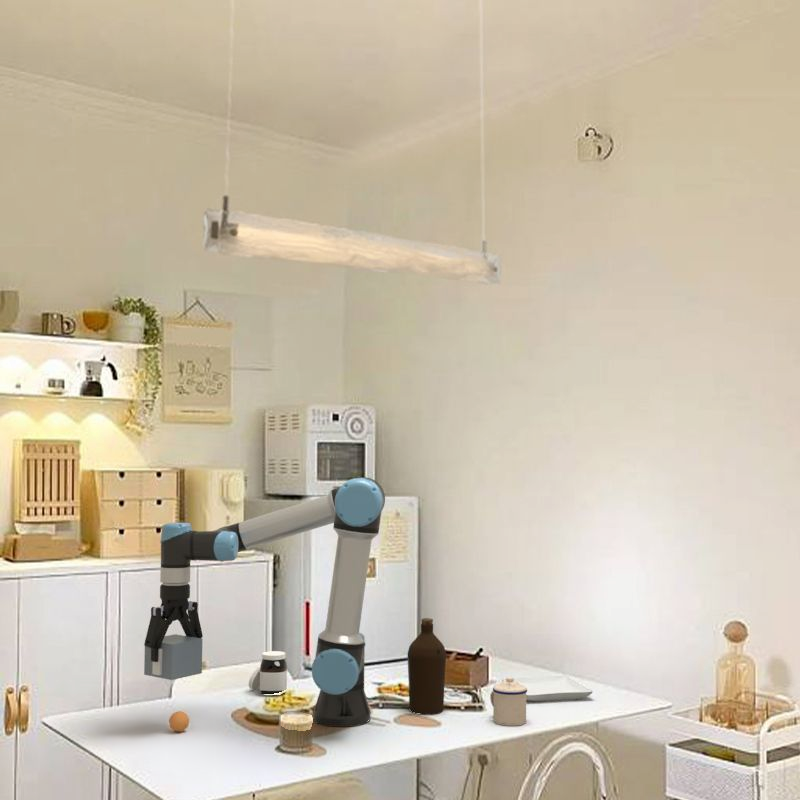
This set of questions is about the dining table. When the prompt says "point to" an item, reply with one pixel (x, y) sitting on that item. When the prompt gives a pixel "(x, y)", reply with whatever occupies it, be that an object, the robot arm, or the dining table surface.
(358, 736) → the dining table surface
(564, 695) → the salad plate
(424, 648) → the olive oil
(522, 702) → the teacup with lid
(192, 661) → the grey block
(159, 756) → the dining table surface
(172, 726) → the ball
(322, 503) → the robot arm
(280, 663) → the spread jar
